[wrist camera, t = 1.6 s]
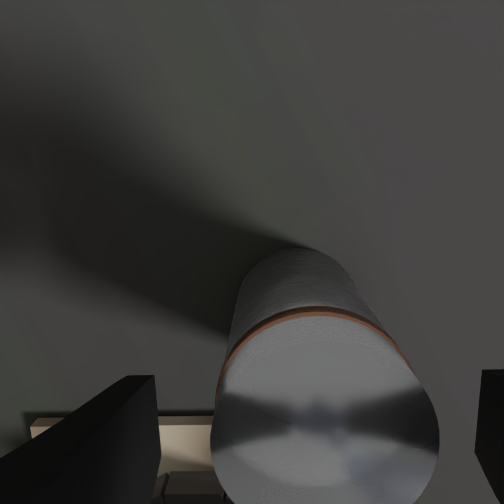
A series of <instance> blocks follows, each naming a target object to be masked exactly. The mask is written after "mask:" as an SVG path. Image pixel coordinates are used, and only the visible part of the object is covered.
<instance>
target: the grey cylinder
mask: <svg viewBox="0 0 504 504" xmlns="http://www.w3.org/2000/svg"><path fill="white" fill-rule="evenodd" d="M210 450H211V457H212V462H213V466H214V469H215V473H216V475H217V477H218V479H219V481H220V484H221V485H222V487H223V489H224V490H225V492H226V493H227V495H228V496H229V497H230V499H231V500H232V501H233V502H234V503H235V504H413V503H414V502H415V501H416V500H417V499H418V497H419V496H420V495H421V494H422V492H423V491H424V489H425V487H426V486H427V484H428V483H429V480H430V478H431V476H432V474H433V472H434V469H435V465H436V462H437V459H438V452H439V427H438V421H437V417H436V414H435V411H434V408H433V405H432V403H431V401H430V399H429V397H428V395H427V393H426V392H425V390H424V389H423V387H422V386H421V384H420V382H419V381H418V379H417V378H416V376H415V374H414V371H413V369H412V367H411V365H410V363H409V361H408V360H407V358H406V357H405V356H404V354H403V353H402V351H401V350H400V348H399V347H398V345H397V344H396V342H395V341H394V340H393V339H392V338H391V337H390V336H389V335H388V334H387V332H386V331H385V329H384V328H383V326H382V325H381V323H380V322H379V320H378V319H377V317H376V315H375V314H374V312H373V311H372V309H371V308H370V306H369V305H368V303H367V302H366V300H365V299H364V297H363V296H362V294H361V293H360V291H359V290H358V288H357V287H356V285H355V283H354V282H353V280H352V279H351V277H350V276H349V274H348V273H347V272H346V270H345V269H344V268H343V267H342V266H341V265H340V264H339V263H338V262H337V261H335V260H334V259H333V258H331V257H329V256H328V255H326V254H324V253H321V252H319V251H315V250H312V249H306V248H290V249H284V250H280V251H277V252H274V253H272V254H270V255H268V256H266V257H264V258H263V259H261V260H260V261H259V262H257V263H256V264H255V265H254V266H253V267H252V268H251V269H250V271H249V272H248V273H247V275H246V276H245V278H244V279H243V281H242V284H241V286H240V289H239V292H238V296H237V301H236V306H235V311H234V316H233V321H232V326H231V331H230V336H229V341H228V346H227V351H226V356H225V361H224V364H223V366H222V369H221V372H220V376H219V380H218V385H217V390H216V396H215V411H214V416H213V421H212V427H211V433H210Z"/></svg>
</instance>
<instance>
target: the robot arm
mask: <svg viewBox="0 0 504 504" xmlns="http://www.w3.org/2000/svg"><path fill="white" fill-rule="evenodd" d="M475 454H476V456H477V458H478V460H479V463H480V465H481V467H482V469H483V471H484V473H485V476H486V478H487V480H488V482H489V484H490V485H491V487H492V489H493V491H494V493H495V495H496V497H497V499H498V500H499V502H500V504H504V369H494V370H482V376H481V387H480V398H479V409H478V420H477V431H476V442H475ZM161 456H162V453H161V443H160V432H159V421H158V410H157V400H156V389H155V378H154V375H130V376H126V377H124V378H122V379H120V380H119V381H117V382H116V383H114V384H113V385H111V386H110V387H108V388H107V389H105V390H104V391H103V392H101V393H100V394H98V395H97V396H95V397H94V398H93V399H91V400H90V401H88V402H87V403H85V404H84V405H82V406H81V407H80V408H78V409H77V410H75V411H74V412H72V413H71V414H69V415H68V416H67V417H65V418H64V419H62V420H61V421H59V422H58V423H56V424H55V425H53V426H51V427H50V428H48V429H47V430H45V431H43V432H42V433H40V434H39V435H37V436H36V437H34V438H32V439H31V440H29V441H28V442H26V443H25V444H23V445H21V446H20V447H18V448H17V449H15V450H13V451H12V452H10V453H8V454H7V455H5V456H3V457H1V458H0V504H150V502H151V500H152V496H153V491H154V487H155V483H156V479H157V474H158V470H159V465H160V460H161Z"/></svg>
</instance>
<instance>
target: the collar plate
mask: <svg viewBox="0 0 504 504" xmlns="http://www.w3.org/2000/svg"><path fill="white" fill-rule="evenodd" d="M62 419H64V418H37V419H36V421H35V422H34V423H33V424H32V425H31V426H30V429H31V435H32V438H34V437H36V436H37V435H39V434H40V433H42V432H43V431H45V430H47V429H48V428H50V427H51V426H53V425H55V424H56V423H58V422H59V421H61V420H62ZM158 421H159V432H160V443H161V453H162V456H161V460H160V465H159V470H158V474H157V479H156V483H155V487H154V491H153V496H152V500H151V502H150V504H235V503H234V502H233V501H232V500H231V499H230V497H229V496H228V495H227V493H226V492H225V490H224V489H223V487H222V485H221V484H220V481H219V479H218V477H217V475H216V473H215V469H214V466H213V462H212V457H211V450H210V433H211V427H212V421H213V416H158Z"/></svg>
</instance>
